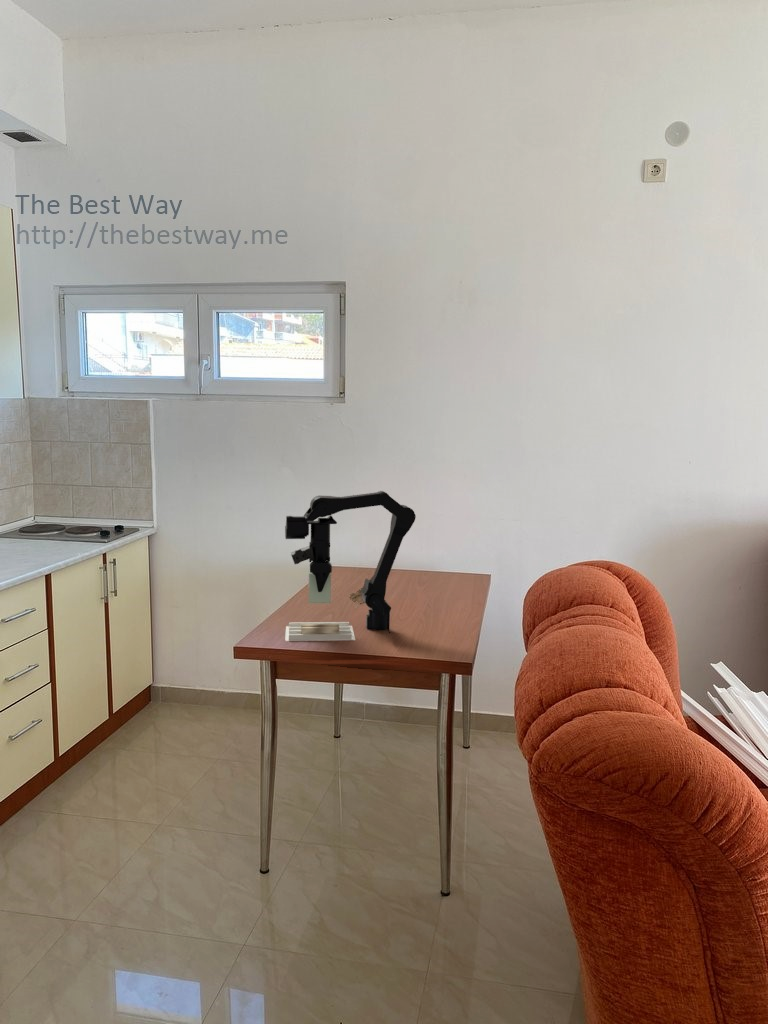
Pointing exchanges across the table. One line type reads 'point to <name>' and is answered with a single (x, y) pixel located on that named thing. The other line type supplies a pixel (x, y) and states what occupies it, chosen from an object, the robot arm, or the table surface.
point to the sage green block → (319, 596)
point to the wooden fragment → (357, 596)
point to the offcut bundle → (320, 629)
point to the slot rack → (295, 634)
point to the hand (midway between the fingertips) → (319, 590)
